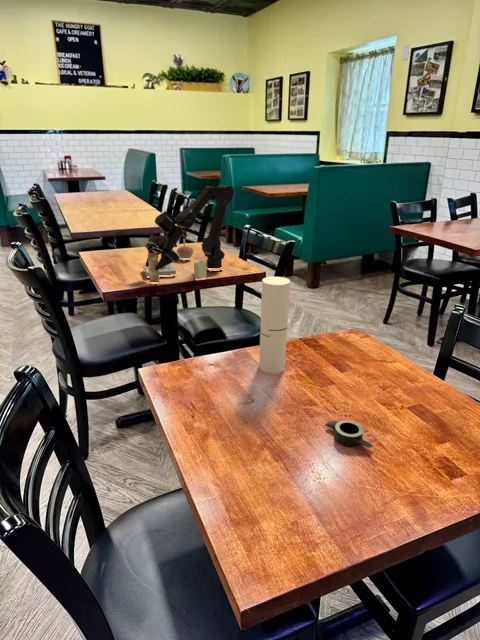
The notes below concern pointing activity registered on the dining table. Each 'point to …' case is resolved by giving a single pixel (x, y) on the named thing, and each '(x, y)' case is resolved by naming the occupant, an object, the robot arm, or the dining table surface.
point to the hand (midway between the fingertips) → (150, 268)
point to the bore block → (163, 270)
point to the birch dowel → (153, 267)
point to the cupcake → (185, 251)
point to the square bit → (200, 270)
